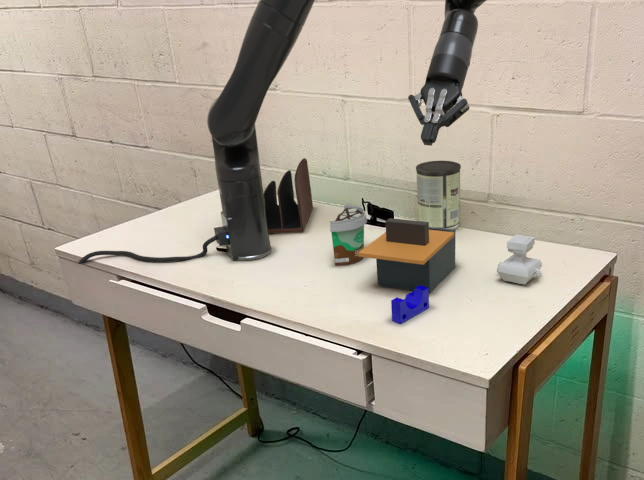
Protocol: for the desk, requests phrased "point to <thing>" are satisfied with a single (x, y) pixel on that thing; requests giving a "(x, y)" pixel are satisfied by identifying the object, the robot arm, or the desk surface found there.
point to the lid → (407, 242)
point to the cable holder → (410, 304)
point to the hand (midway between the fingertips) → (426, 143)
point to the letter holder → (289, 202)
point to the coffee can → (439, 194)
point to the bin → (418, 269)
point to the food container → (348, 235)
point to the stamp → (519, 261)
